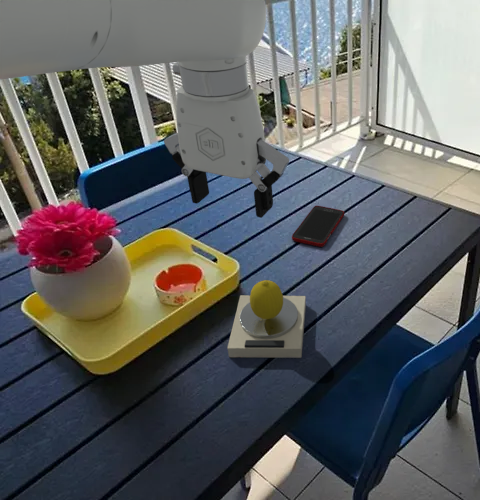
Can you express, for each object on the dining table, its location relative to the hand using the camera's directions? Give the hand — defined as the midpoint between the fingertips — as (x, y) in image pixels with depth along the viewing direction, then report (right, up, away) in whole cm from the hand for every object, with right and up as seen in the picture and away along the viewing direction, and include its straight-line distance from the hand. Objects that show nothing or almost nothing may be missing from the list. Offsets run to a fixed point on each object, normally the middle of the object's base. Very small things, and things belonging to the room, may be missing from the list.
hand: (232, 205), depth 68 cm
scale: (+2, -20, +20) cm, 29 cm away
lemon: (+2, -18, +18) cm, 26 cm away
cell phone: (+9, -1, +46) cm, 47 cm away
